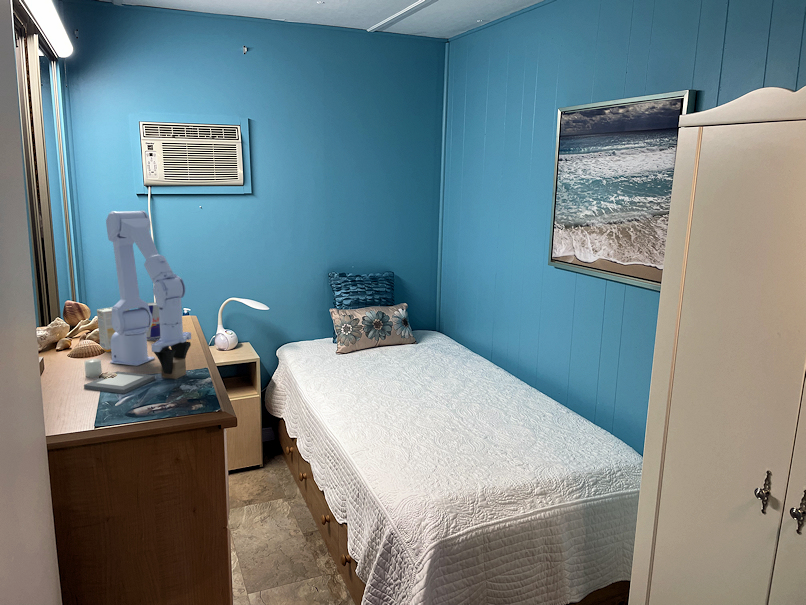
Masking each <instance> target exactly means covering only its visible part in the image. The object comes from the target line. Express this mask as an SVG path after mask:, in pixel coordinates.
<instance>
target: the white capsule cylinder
mask: <svg viewBox="0 0 806 605" xmlns="http://www.w3.org/2000/svg"><path fill="white" fill-rule="evenodd" d="M84 373H85V377H86V378H95V377H100V376H101V375H100V374H101V373H102V374H103V370H102V360H101V359H100V358H90V359H87V360H84ZM99 375H100V376H99Z"/></svg>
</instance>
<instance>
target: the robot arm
mask: <svg viewBox="0 0 806 605" xmlns="http://www.w3.org/2000/svg"><path fill="white" fill-rule="evenodd" d="M105 226H106V231H107V237H108V241H110V242H111V243H112V244H113V246H112V247H113V252H114V253H113V254H114V259H115V267H116V276H117V282H118V292H119V297H120V299H119V300H118V301H117V302H116V303H115V304H114V305H113V306H111V307H112V318H111V323H112V327H113V329H114V330H115V331H116V332H115V333H114V334H113V335H112V338H111V351H110V352H111V360H110V361H109V363H110V364H116V365H117V364H118V365H126V366H127V365H128V366H135V367H137V366H141V365H143V364H146V363H147V362H150V361H152V360H155V356H156V357H157V359H158V361H159V363H160V367H161V366H162V369H163V372H164V374H172V370H173V358H174V357H176V358H185V359H186V356H187V354H188V352H189V349H190V347H191V346H192V345H191V344H192V343H191V342H190V341H189V340H191V339H192V332H188V331H184V329H183V310H182V298H184V296H185V295H186V285H185V282H184V280H183V279H182V278H181V277H180V276H178V274H176V273H174V271H173V270H172V268H171V266H170V264H169V262H168V260H167V259H166V256H164V255H162V254H159V252H158V249H157V246H156V245H155V242H154V240H153V238H152V234H151V233H150V231H151V219H150V217H149V214H148V213H147V212H146V211H145V210H133V211H132V210H130V211H129V210H128V211H127V210H126V211H115V210H112V211H109V213H108V215H107V217H106V219H105ZM134 244H135V246H137V248H138V250H139V251H140V252H141V255H143V257H144V259H145V261H144V264H143V266H144V268H145V270H146V271H147V274H148V276H149V278H150V280H151V281H152V283H153V288H152V292H153V295H154V298H155V303H156V304H157V306H158V307H159V319H160V336H161V338H160V339H159V340H156V341H155V342H154V343H152V344H151V352H153V354H155V356H148V355H149V354H148V352H149V350H148V340H147V335H146V331H149V329H148V328H150V326H151V324H152V314H151V312H150V309H149V305H148V303H149V302H146V301H145V300H143V299H141V298H140V297H141V296H140V290H139V283H138V275H137V274H138V273H137V267H136V260H135V254H134V253H135V252H134ZM127 309H129V310H127ZM125 310H127V311H125Z"/></svg>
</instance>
